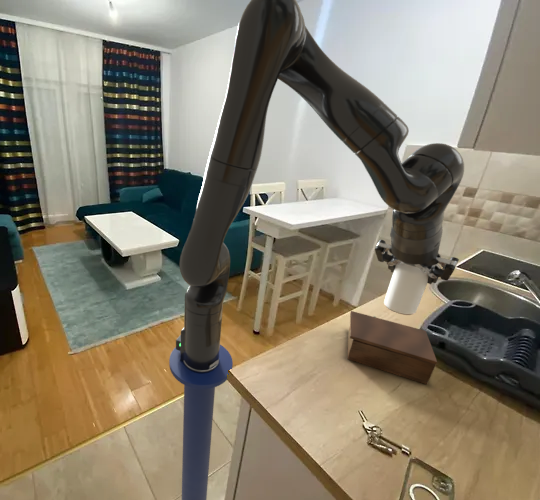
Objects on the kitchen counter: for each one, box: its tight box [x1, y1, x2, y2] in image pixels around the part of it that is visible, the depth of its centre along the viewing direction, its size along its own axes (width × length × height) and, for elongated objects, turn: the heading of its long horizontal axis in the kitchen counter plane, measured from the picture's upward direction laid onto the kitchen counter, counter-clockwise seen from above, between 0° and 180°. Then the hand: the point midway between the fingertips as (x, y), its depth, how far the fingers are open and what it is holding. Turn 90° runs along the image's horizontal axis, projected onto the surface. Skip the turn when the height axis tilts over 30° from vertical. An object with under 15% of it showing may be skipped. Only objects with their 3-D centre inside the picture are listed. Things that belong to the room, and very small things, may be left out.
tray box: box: [347, 327, 437, 385], centre depth 75 cm, size 17×13×6 cm
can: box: [383, 263, 429, 316], centre depth 66 cm, size 6×6×12 cm
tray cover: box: [349, 310, 438, 365], centre depth 73 cm, size 17×13×1 cm
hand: (411, 274), depth 66 cm, fingers closed on can, 6 cm apart
